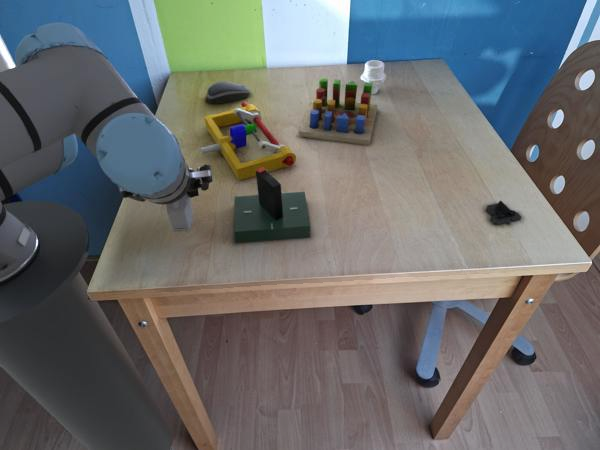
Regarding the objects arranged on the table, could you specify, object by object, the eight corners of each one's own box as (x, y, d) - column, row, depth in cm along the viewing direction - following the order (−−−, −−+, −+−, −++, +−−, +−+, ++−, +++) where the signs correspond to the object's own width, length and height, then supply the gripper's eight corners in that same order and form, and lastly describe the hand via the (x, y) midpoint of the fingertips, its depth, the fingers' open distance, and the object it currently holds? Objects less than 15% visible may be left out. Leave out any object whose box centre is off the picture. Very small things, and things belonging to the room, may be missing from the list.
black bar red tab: (283, 217, 79) (280, 182, 74) (275, 220, 79) (273, 186, 73) (266, 200, 83) (262, 166, 77) (259, 203, 82) (255, 169, 76)
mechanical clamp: (248, 87, 111) (298, 144, 91) (251, 108, 115) (298, 167, 96) (179, 102, 105) (216, 167, 86) (184, 124, 110) (220, 190, 90)
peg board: (298, 137, 105) (297, 105, 99) (313, 103, 117) (313, 73, 111) (369, 145, 101) (372, 113, 95) (377, 109, 113) (380, 79, 108)
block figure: (509, 193, 84) (527, 211, 80) (505, 202, 86) (523, 220, 82) (483, 199, 83) (500, 218, 79) (479, 208, 85) (496, 227, 81)
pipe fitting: (357, 87, 123) (359, 59, 118) (381, 85, 124) (384, 58, 118) (361, 97, 119) (364, 69, 113) (386, 95, 119) (390, 68, 114)
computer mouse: (252, 97, 120) (251, 84, 117) (209, 106, 116) (207, 92, 114) (245, 87, 124) (243, 74, 121) (204, 95, 121) (201, 82, 118)
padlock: (173, 207, 80) (160, 164, 73) (194, 205, 80) (184, 162, 73) (170, 233, 75) (156, 190, 68) (193, 231, 75) (181, 187, 68)
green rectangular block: (235, 243, 79) (233, 231, 77) (236, 207, 86) (234, 195, 84) (310, 237, 80) (310, 225, 77) (304, 202, 87) (304, 190, 85)
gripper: (219, 135, 57) (220, 165, 80) (84, 156, 54) (125, 180, 77) (230, 190, 57) (227, 204, 80) (96, 214, 54) (134, 221, 77)
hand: (177, 192), depth 78 cm, fingers closed on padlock, 4 cm apart
